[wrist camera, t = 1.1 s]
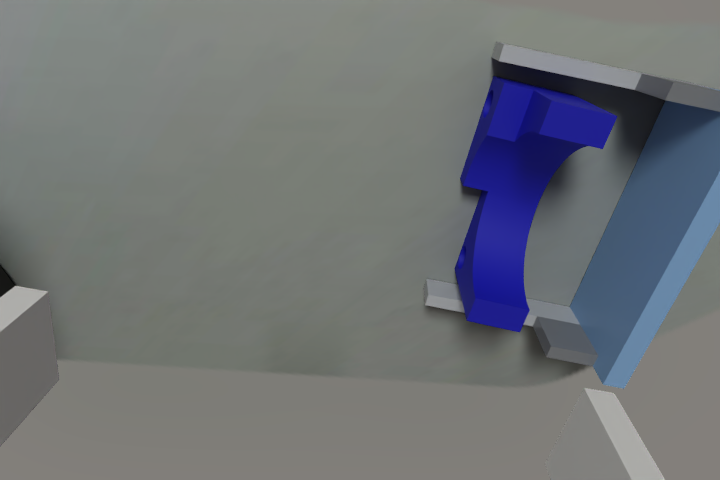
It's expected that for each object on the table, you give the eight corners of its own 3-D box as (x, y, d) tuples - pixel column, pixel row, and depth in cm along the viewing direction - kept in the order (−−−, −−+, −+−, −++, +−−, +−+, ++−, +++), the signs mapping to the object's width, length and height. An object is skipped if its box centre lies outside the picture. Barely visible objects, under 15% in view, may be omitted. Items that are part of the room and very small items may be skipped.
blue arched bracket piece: (493, 75, 26) (518, 92, 21) (571, 94, 26) (617, 116, 21) (432, 262, 32) (440, 314, 26) (498, 277, 32) (519, 332, 26)
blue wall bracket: (423, 288, 32) (430, 350, 26) (496, 41, 25) (526, 51, 19) (582, 320, 32) (623, 388, 27) (696, 84, 26) (786, 106, 20)
